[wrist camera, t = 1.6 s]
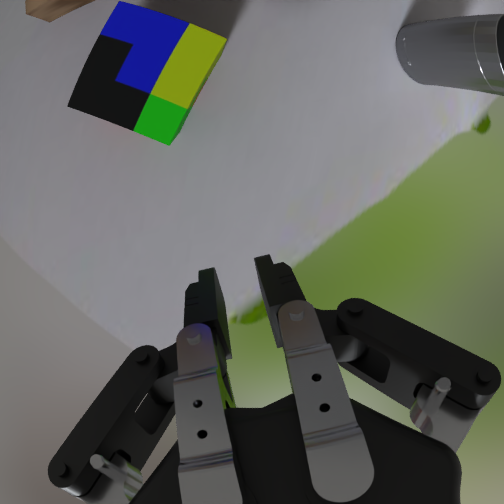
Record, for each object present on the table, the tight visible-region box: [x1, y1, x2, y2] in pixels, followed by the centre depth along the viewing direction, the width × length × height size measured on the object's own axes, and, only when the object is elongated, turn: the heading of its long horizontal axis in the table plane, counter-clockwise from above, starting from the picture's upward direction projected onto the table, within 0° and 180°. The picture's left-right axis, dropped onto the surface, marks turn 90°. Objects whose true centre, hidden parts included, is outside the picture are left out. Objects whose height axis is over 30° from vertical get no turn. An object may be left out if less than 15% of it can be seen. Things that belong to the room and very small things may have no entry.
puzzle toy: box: [68, 1, 227, 146], centre depth 23 cm, size 10×10×10 cm
